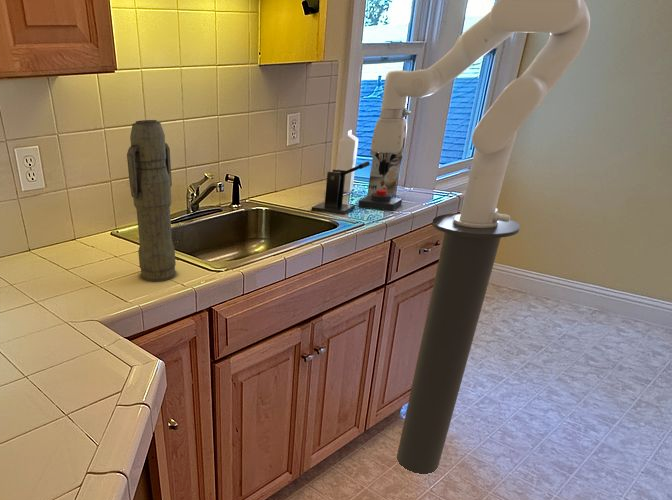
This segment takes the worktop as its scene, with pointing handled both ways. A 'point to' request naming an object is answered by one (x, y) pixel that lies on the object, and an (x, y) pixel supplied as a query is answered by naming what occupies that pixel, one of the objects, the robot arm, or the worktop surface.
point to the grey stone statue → (152, 199)
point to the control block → (380, 202)
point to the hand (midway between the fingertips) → (383, 174)
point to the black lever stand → (334, 195)
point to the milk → (347, 158)
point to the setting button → (381, 192)
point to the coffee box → (384, 176)
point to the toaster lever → (355, 168)
